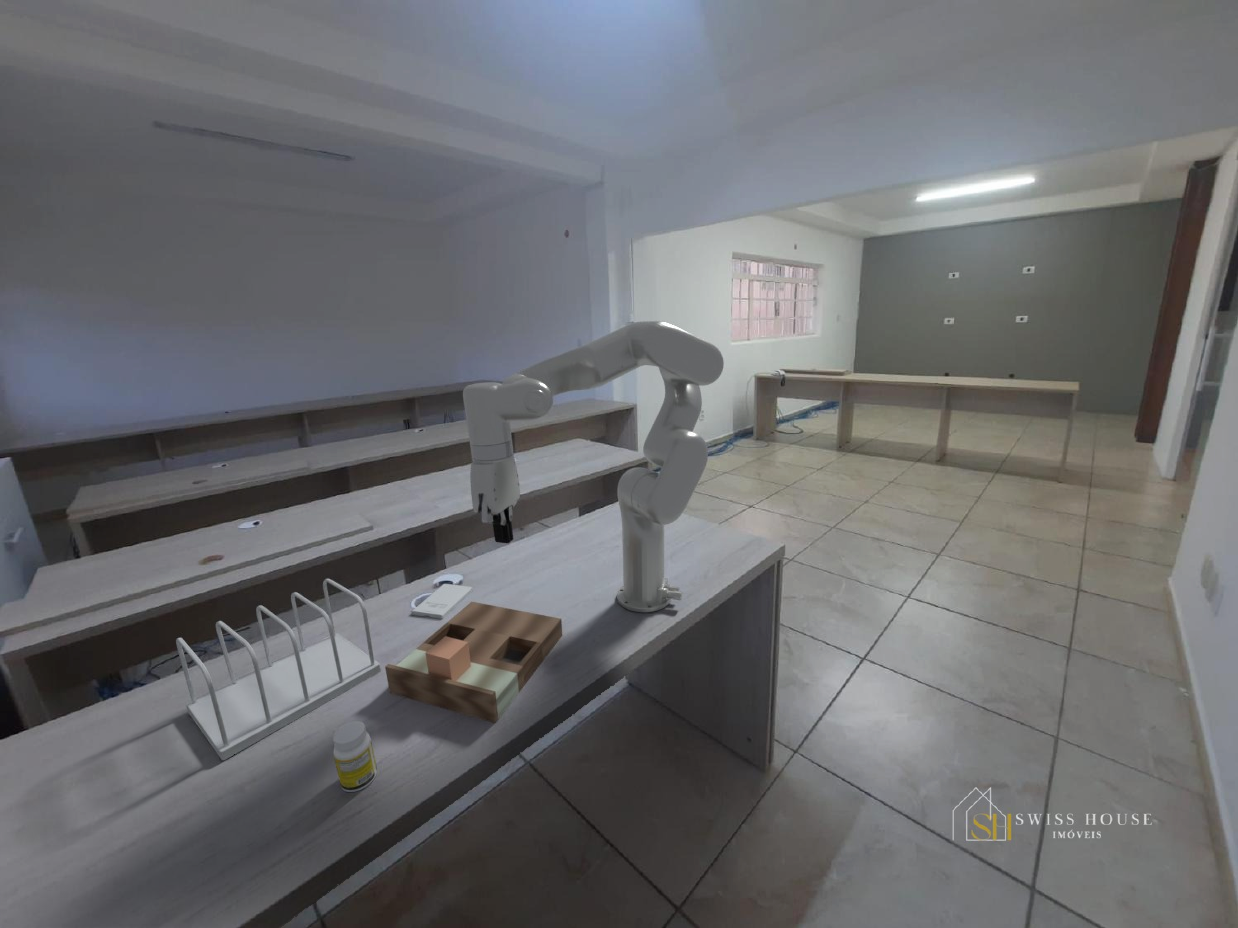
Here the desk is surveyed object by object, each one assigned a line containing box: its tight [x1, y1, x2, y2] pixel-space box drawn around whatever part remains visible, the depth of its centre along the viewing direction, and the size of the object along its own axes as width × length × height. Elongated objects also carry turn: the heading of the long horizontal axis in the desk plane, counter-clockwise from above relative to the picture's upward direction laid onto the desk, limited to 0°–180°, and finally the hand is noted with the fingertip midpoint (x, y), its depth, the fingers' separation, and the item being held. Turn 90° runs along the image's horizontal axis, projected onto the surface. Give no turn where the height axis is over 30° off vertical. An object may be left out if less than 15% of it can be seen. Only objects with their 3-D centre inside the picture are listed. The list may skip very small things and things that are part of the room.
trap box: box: [384, 601, 563, 724], centre depth 95 cm, size 22×25×6 cm
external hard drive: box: [410, 583, 473, 620], centre depth 117 cm, size 2×8×12 cm
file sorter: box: [175, 578, 382, 761], centre depth 87 cm, size 25×17×16 cm
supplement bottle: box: [332, 720, 378, 793], centre depth 70 cm, size 5×5×8 cm
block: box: [426, 636, 471, 681], centre depth 87 cm, size 5×5×5 cm
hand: (504, 540), depth 97 cm, fingers closed
